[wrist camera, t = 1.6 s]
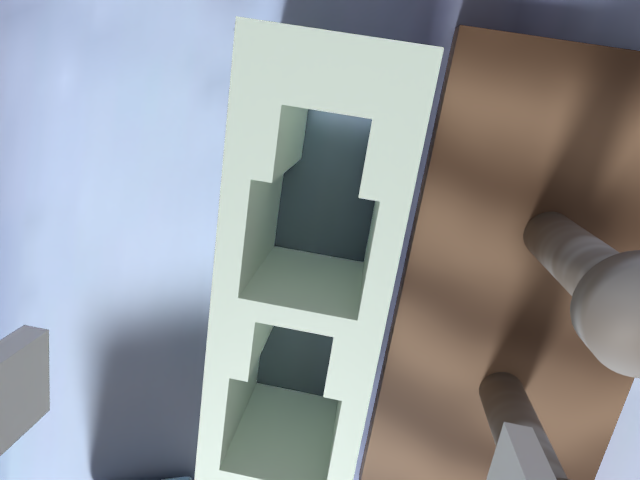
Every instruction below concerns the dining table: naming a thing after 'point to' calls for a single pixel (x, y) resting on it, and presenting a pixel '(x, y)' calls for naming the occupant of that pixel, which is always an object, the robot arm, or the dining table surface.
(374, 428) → the board
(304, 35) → the two-pocket foam insert
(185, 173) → the dining table surface
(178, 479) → the radio
